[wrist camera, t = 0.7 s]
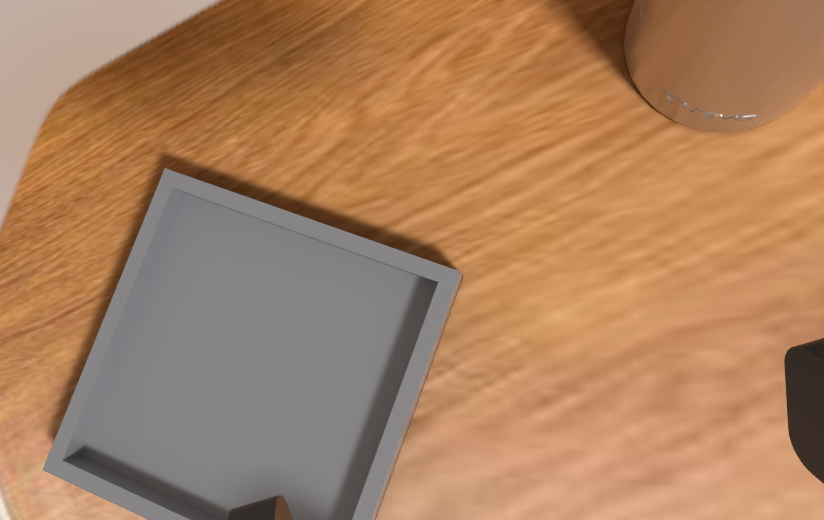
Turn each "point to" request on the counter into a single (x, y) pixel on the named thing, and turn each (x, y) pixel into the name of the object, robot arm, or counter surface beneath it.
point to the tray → (252, 363)
